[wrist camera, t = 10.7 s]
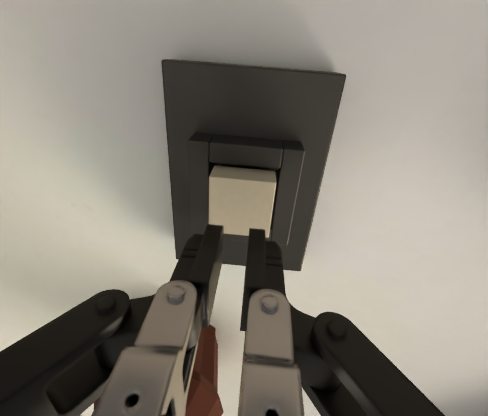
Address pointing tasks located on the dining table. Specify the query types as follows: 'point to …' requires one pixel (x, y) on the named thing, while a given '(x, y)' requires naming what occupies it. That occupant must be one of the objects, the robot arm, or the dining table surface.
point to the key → (241, 199)
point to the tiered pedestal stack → (249, 144)
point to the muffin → (203, 378)
